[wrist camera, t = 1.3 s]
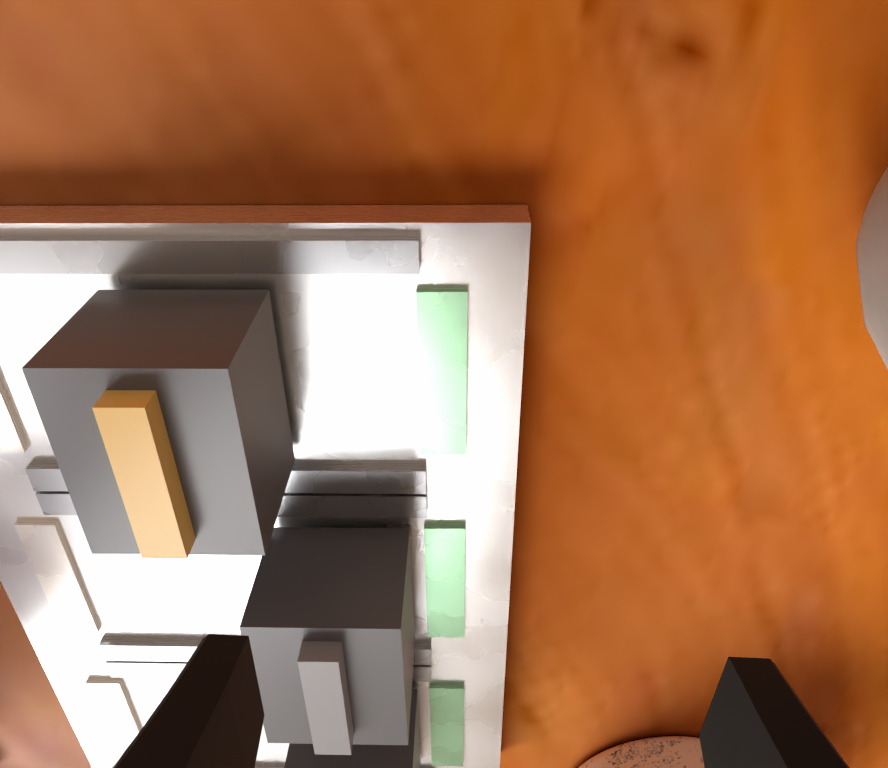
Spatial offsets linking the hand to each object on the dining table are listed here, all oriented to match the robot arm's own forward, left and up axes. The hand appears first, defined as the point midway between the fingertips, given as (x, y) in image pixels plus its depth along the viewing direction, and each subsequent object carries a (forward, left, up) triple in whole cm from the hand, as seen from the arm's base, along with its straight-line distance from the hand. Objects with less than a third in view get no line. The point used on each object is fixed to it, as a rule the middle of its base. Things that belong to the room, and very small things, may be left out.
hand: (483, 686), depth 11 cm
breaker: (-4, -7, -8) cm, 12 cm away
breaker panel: (-7, -7, -10) cm, 14 cm away
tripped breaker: (-7, 0, -8) cm, 11 cm away
